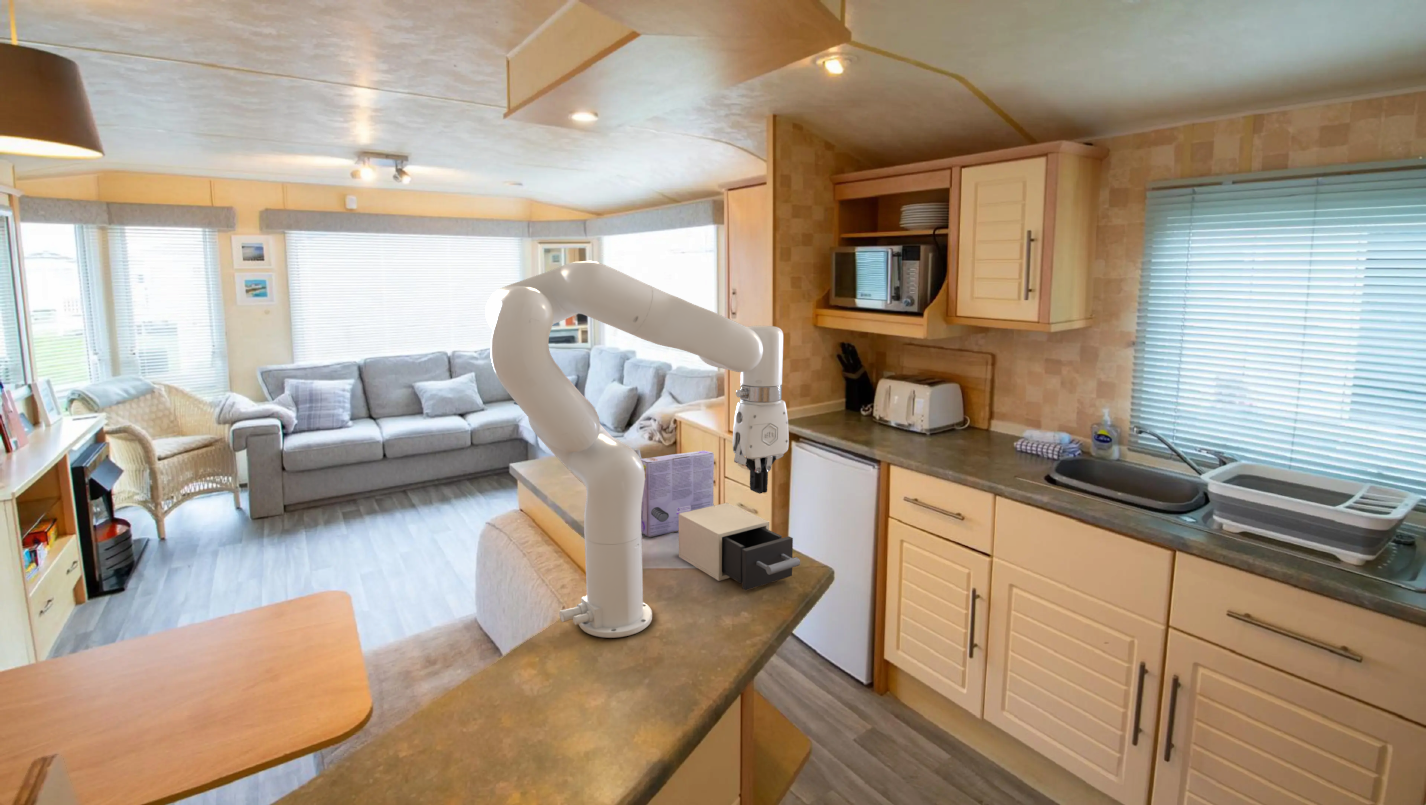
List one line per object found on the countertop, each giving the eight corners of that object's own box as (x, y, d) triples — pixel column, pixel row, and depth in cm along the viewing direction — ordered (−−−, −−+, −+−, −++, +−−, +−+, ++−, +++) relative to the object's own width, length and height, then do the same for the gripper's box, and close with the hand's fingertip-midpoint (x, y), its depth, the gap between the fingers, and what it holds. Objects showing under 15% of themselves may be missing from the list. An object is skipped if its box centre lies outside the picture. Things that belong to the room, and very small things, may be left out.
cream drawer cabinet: (768, 565, 143) (769, 521, 141) (718, 580, 135) (718, 534, 134) (726, 543, 154) (727, 502, 153) (678, 556, 147) (678, 513, 146)
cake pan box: (707, 516, 172) (707, 447, 168) (718, 522, 167) (718, 451, 164) (637, 532, 161) (636, 458, 158) (648, 539, 157) (646, 463, 154)
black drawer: (808, 584, 132) (809, 545, 131) (761, 599, 126) (761, 559, 124) (749, 553, 147) (750, 518, 145) (705, 566, 140) (704, 529, 139)
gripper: (740, 400, 119) (738, 503, 122) (805, 393, 128) (802, 490, 131) (715, 394, 125) (714, 492, 128) (779, 388, 134) (776, 480, 137)
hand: (758, 491), depth 130 cm, fingers closed
